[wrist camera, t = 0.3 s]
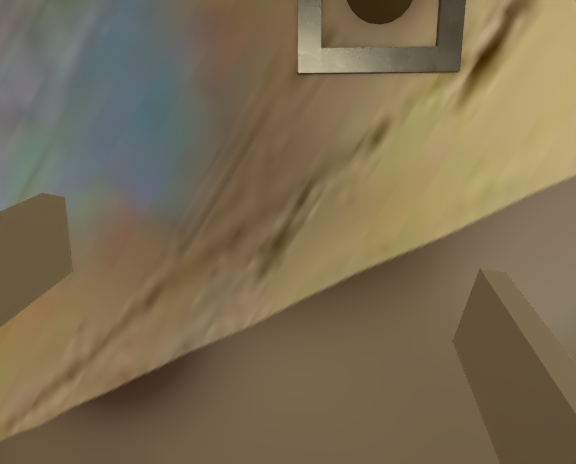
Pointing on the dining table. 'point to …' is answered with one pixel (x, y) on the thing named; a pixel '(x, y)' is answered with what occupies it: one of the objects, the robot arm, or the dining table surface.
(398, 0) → the cork
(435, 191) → the dining table surface
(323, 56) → the frame
